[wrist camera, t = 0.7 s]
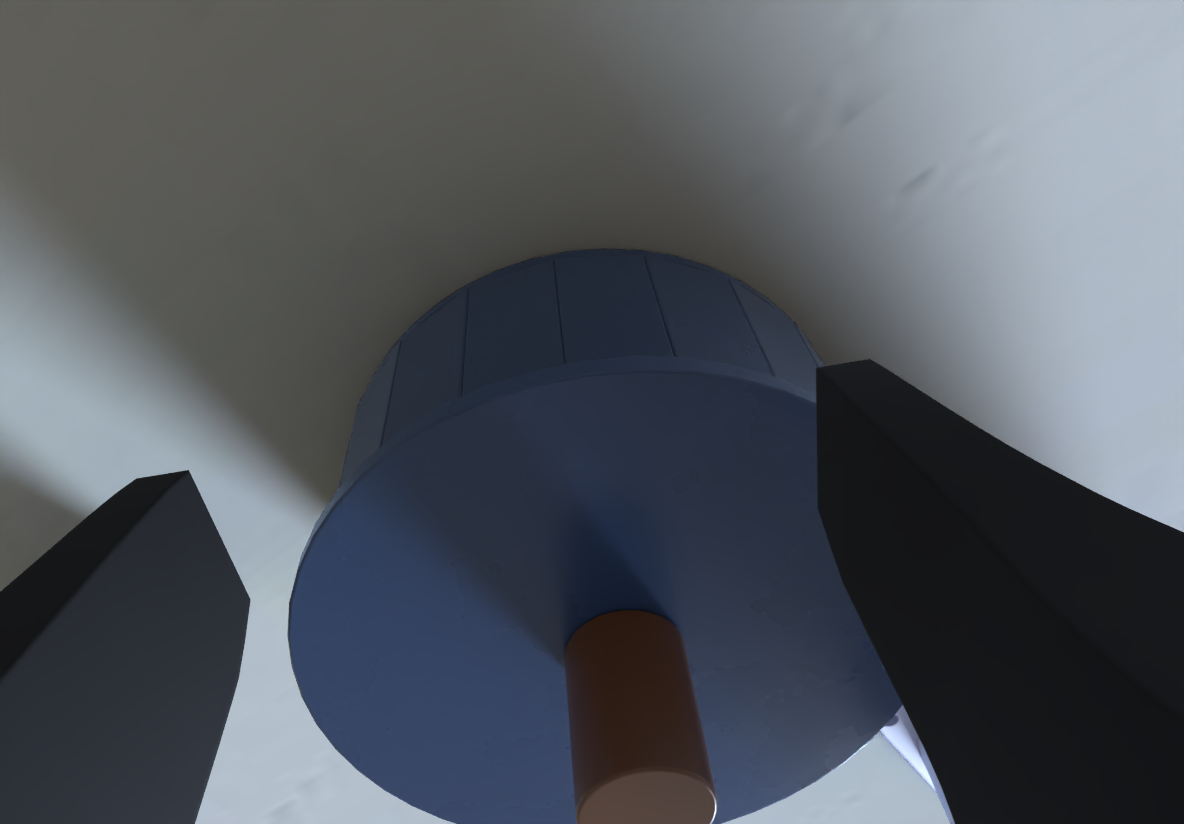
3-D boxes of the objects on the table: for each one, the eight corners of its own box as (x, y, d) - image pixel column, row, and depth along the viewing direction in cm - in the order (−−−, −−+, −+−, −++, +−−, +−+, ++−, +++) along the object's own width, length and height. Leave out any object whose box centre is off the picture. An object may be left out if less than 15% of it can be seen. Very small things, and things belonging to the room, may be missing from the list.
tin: (920, 496, 25) (1012, 651, 20) (556, 704, 28) (566, 876, 24) (662, 134, 19) (711, 236, 15) (242, 449, 22) (176, 612, 18)
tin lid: (1023, 631, 21) (1144, 823, 17) (562, 867, 24) (574, 1070, 21) (711, 188, 15) (787, 328, 11) (154, 589, 18) (59, 804, 14)
